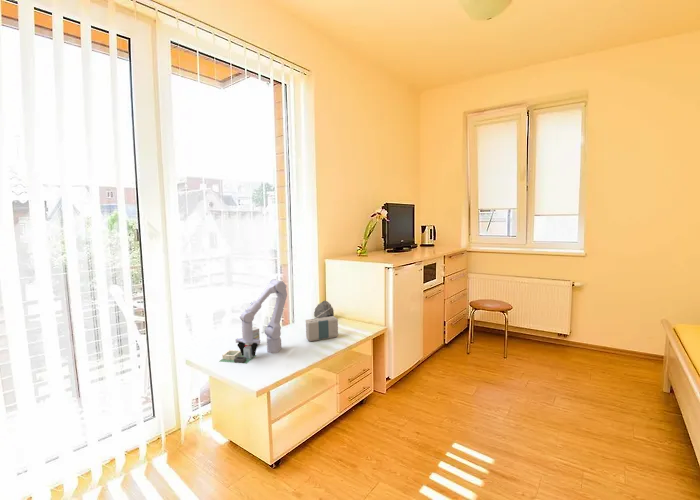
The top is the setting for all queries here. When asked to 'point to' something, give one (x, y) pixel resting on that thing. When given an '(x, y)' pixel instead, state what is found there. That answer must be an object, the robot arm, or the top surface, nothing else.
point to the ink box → (254, 336)
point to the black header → (239, 359)
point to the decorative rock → (323, 310)
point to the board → (233, 360)
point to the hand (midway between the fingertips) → (248, 355)
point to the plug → (248, 352)
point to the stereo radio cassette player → (321, 328)
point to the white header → (231, 354)
